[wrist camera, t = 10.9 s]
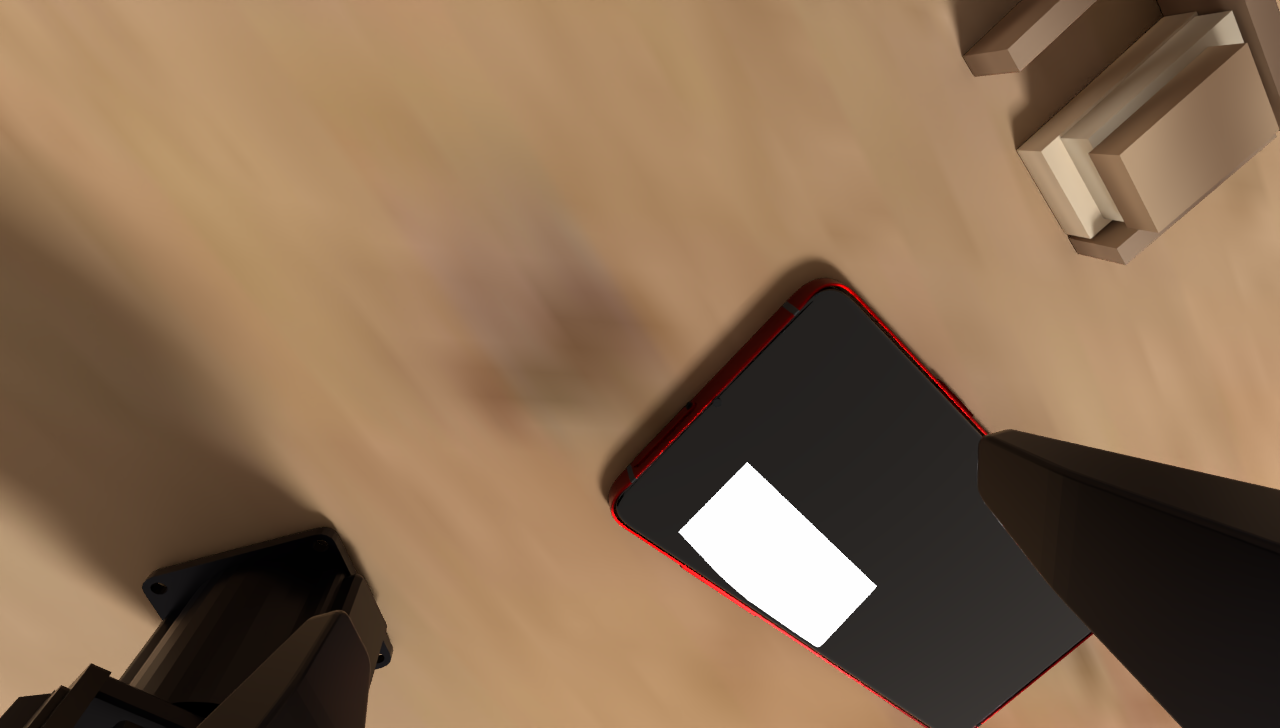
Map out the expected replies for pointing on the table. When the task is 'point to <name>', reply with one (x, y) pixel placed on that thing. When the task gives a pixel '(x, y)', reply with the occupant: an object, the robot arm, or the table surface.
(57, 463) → the table surface
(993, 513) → the robot arm
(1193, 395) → the table surface
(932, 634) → the smartphone
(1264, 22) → the rack
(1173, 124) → the offcut stack
